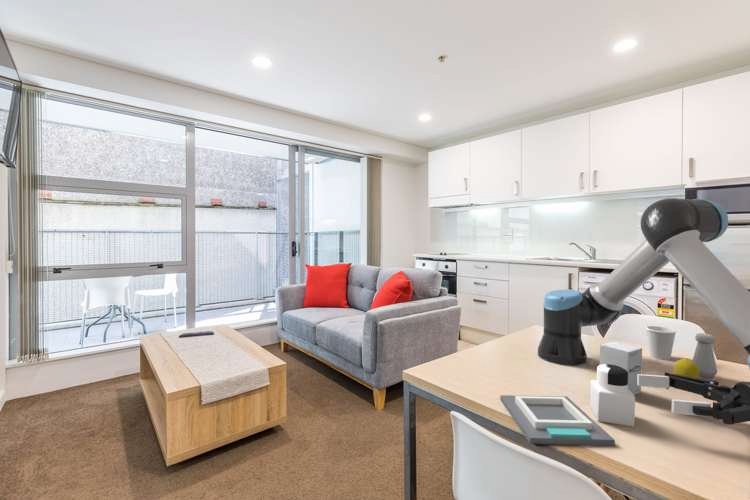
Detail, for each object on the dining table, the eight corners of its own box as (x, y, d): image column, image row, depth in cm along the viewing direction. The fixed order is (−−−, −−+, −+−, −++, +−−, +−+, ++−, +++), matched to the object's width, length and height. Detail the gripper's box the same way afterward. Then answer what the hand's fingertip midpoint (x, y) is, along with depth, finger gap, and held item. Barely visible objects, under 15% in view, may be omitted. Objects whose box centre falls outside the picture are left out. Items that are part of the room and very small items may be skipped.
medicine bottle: (623, 412, 83) (624, 363, 83) (634, 427, 77) (636, 374, 76) (589, 407, 86) (590, 360, 85) (598, 421, 79) (599, 370, 79)
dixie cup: (672, 355, 123) (673, 327, 122) (677, 362, 116) (678, 333, 115) (643, 351, 127) (644, 324, 127) (646, 358, 120) (647, 330, 120)
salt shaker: (722, 381, 101) (724, 337, 100) (699, 379, 102) (701, 336, 101) (707, 373, 107) (709, 332, 106) (686, 372, 108) (687, 331, 107)
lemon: (667, 382, 100) (668, 355, 100) (685, 381, 101) (686, 354, 100) (686, 390, 95) (687, 362, 94) (704, 389, 95) (705, 361, 95)
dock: (500, 399, 90) (500, 389, 90) (566, 401, 89) (567, 390, 89) (529, 443, 71) (530, 430, 71) (614, 445, 70) (614, 432, 70)
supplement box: (627, 399, 90) (628, 352, 89) (597, 388, 96) (598, 344, 96) (641, 393, 93) (643, 347, 93) (612, 383, 100) (613, 340, 99)
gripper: (827, 453, 62) (690, 439, 67) (721, 392, 87) (626, 385, 91) (829, 413, 62) (691, 401, 67) (722, 363, 86) (626, 357, 91)
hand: (653, 392), depth 79 cm, fingers open, 13 cm apart
